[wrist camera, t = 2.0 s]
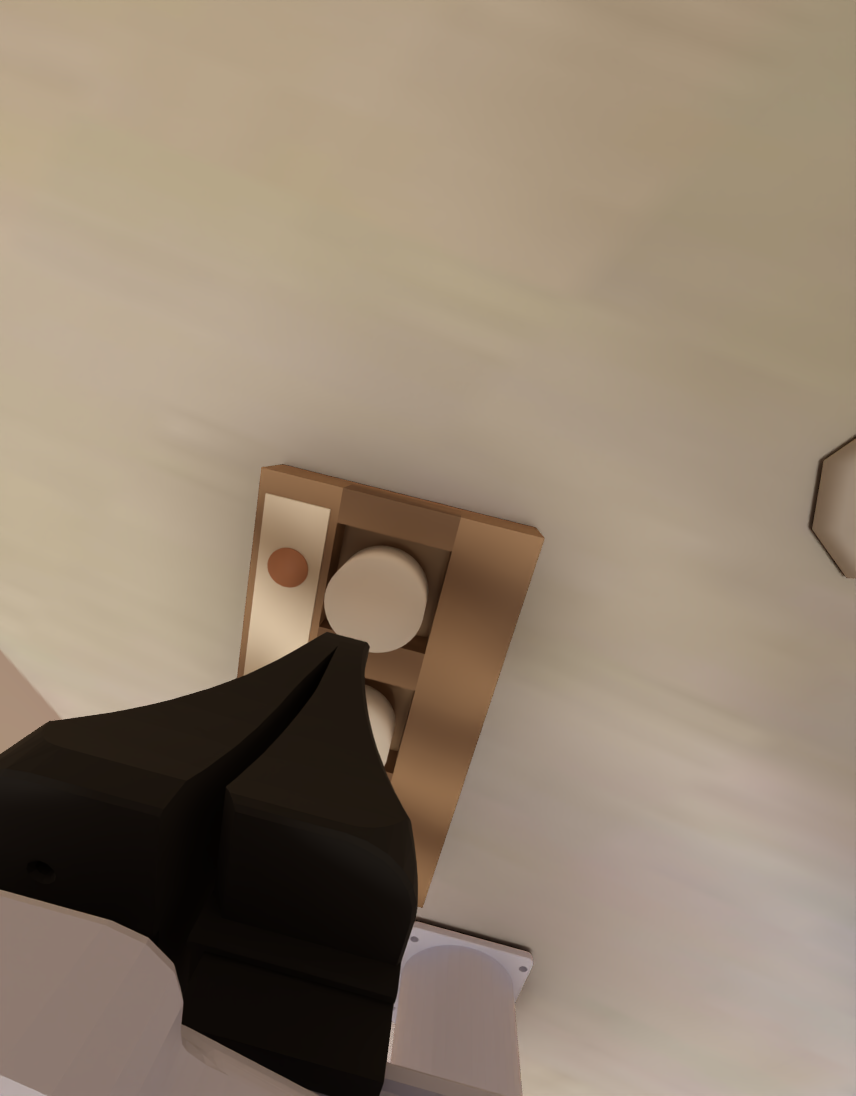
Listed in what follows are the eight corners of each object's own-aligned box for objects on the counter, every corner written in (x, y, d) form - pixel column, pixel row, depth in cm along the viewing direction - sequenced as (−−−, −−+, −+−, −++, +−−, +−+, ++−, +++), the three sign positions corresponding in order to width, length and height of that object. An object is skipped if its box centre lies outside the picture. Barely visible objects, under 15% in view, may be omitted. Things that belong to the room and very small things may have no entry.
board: (425, 870, 24) (422, 911, 22) (236, 819, 25) (214, 855, 22) (536, 527, 18) (545, 539, 16) (282, 464, 18) (259, 467, 16)
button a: (417, 639, 18) (411, 663, 16) (332, 617, 18) (316, 638, 16) (438, 558, 17) (434, 573, 15) (347, 535, 17) (332, 547, 15)
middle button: (386, 760, 20) (377, 794, 18) (309, 740, 20) (293, 771, 18) (403, 694, 19) (396, 723, 17) (322, 672, 19) (306, 699, 17)
